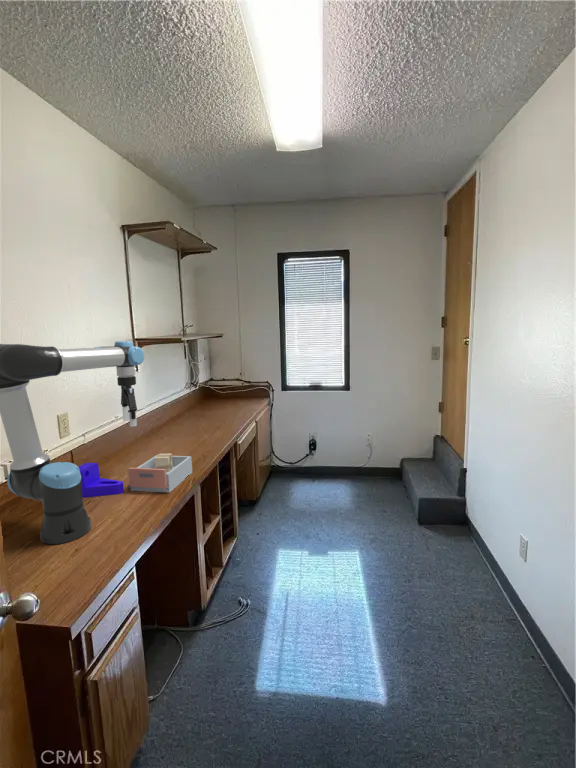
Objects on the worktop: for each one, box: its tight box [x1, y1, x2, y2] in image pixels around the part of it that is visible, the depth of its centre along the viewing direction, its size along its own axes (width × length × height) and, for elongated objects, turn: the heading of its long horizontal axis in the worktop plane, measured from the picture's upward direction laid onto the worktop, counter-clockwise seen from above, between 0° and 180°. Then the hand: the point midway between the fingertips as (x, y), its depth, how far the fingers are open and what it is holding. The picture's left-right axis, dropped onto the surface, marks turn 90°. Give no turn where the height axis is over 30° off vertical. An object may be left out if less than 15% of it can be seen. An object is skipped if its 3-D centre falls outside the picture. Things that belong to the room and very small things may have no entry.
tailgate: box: [127, 467, 167, 489], centre depth 161 cm, size 8×16×2 cm
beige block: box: [155, 453, 173, 472], centre depth 179 cm, size 6×6×7 cm
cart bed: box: [127, 454, 193, 493], centre depth 173 cm, size 24×19×8 cm
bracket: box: [78, 462, 125, 499], centre depth 163 cm, size 18×11×12 cm, turn 85°
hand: (129, 423), depth 172 cm, fingers open, 13 cm apart
